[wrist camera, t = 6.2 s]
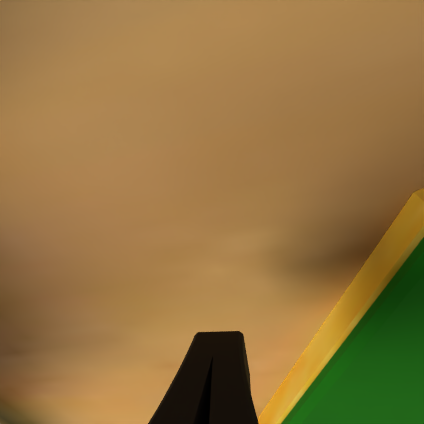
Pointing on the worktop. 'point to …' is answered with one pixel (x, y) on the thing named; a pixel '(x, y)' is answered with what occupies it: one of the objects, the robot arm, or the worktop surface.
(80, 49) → the worktop surface
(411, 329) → the dish sponge
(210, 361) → the robot arm
